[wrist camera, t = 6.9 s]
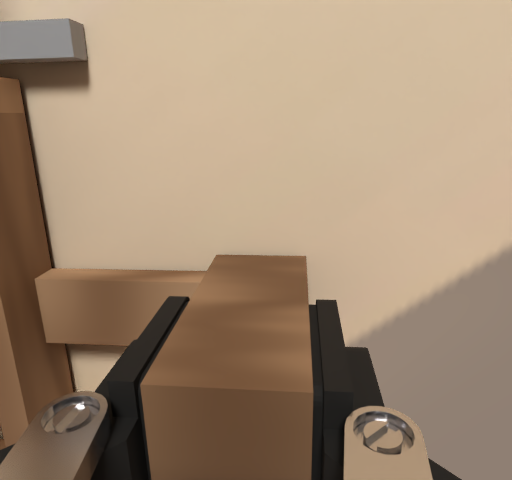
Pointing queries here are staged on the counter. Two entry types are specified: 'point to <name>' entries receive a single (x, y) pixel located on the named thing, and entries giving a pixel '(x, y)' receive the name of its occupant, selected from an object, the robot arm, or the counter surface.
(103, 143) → the counter surface
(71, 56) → the grey bench
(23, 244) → the wooden handled tray
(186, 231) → the counter surface
